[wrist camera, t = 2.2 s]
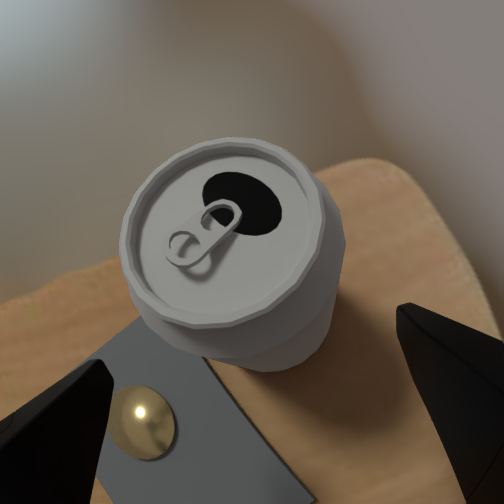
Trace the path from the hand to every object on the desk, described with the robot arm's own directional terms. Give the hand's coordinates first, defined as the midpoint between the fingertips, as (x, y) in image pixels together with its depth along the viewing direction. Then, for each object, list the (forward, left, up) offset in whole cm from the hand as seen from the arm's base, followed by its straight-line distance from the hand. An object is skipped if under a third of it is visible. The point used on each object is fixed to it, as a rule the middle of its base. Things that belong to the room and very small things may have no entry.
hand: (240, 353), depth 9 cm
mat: (0, +9, -10) cm, 14 cm away
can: (+3, -2, -11) cm, 11 cm away
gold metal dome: (+2, +9, -10) cm, 14 cm away
